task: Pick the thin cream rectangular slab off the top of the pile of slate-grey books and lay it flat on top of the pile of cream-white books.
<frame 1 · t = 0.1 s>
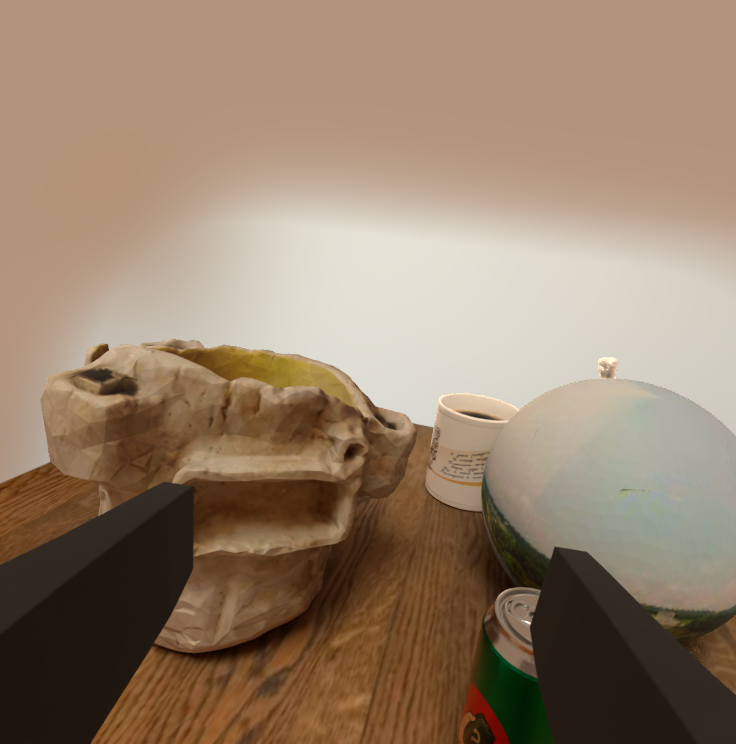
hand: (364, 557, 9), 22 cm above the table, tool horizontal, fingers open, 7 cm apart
figurine: (576, 490, 62), on the table
ceramic vessel: (246, 585, 39), on the table
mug: (464, 487, 60), on the table
decorative sphere: (579, 608, 41), on the table
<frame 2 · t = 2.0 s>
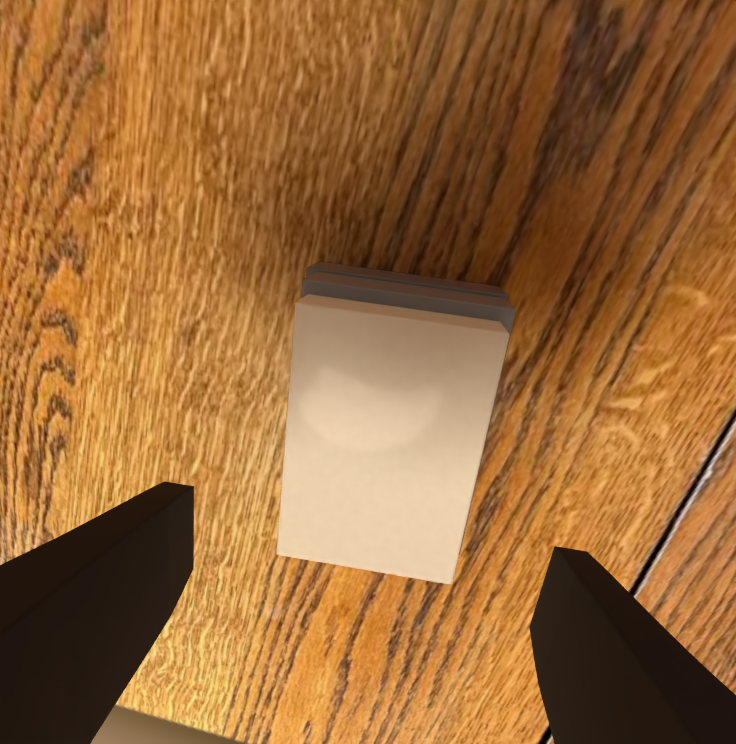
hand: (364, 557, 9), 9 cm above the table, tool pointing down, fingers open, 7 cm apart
grey books: (389, 392, 18), on the table
cream rectangular slab: (383, 434, 15), point 4 cm above the table, touching grey books
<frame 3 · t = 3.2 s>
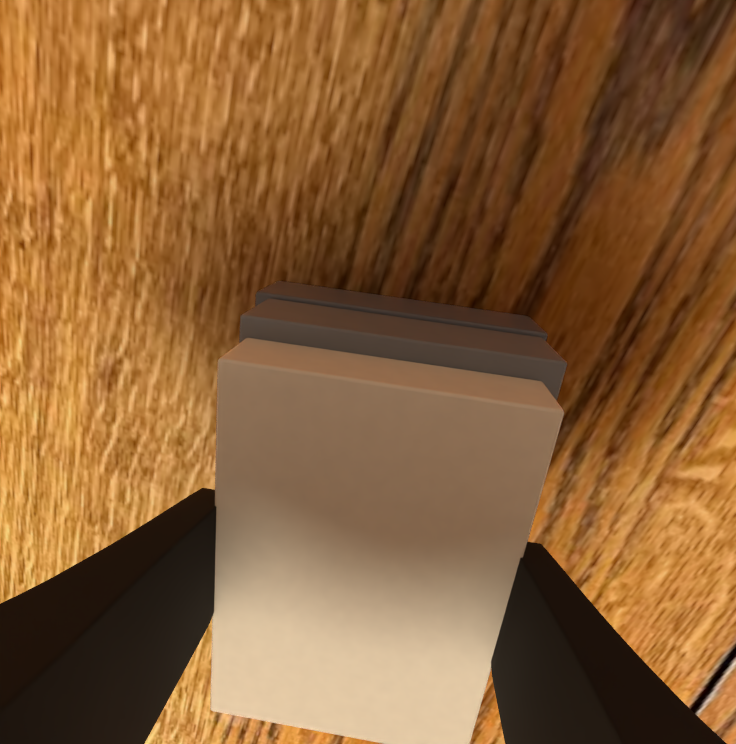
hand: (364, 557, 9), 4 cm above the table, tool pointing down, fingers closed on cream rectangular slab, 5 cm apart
grey books: (378, 454, 13), on the table
cream rectangular slab: (365, 537, 10), point 4 cm above the table, touching grey books, gripper
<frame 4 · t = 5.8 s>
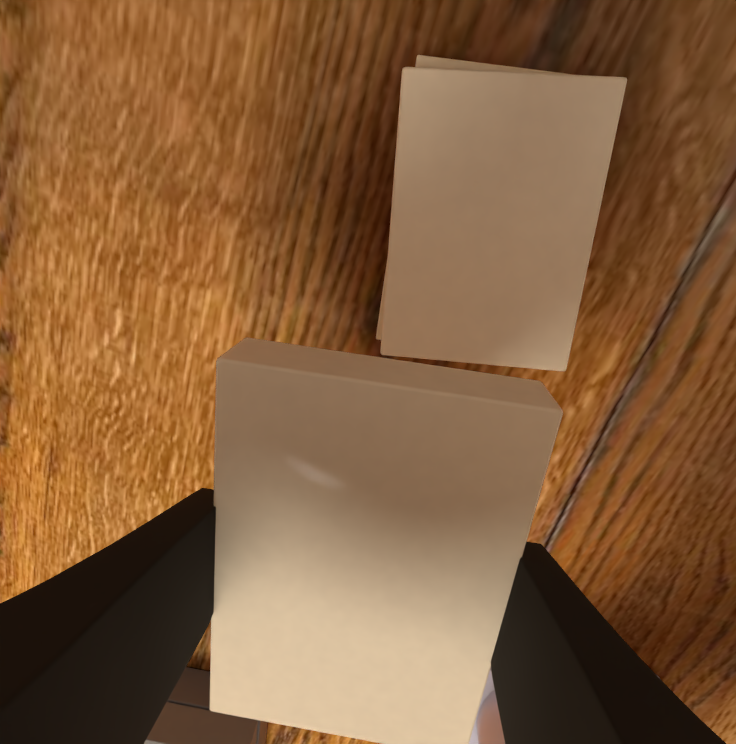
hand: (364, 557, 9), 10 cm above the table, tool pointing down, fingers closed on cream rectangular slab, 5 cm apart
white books: (482, 222, 16), on the table
grey books: (208, 731, 26), on the table
cream rectangular slab: (364, 537, 10), point 9 cm above the table, touching gripper
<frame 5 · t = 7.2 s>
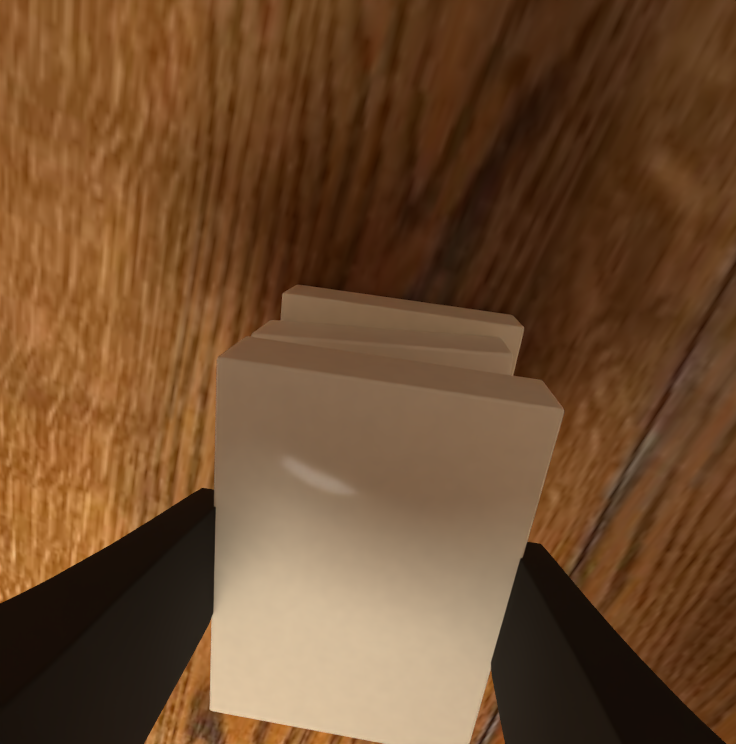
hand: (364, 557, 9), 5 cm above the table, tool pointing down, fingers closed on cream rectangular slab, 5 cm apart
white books: (382, 438, 14), on the table
cream rectangular slab: (365, 536, 10), point 5 cm above the table, touching gripper
when the fingers open (4 cm above the table, at t = 8.4 s): cream rectangular slab stays where it is, resting on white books.
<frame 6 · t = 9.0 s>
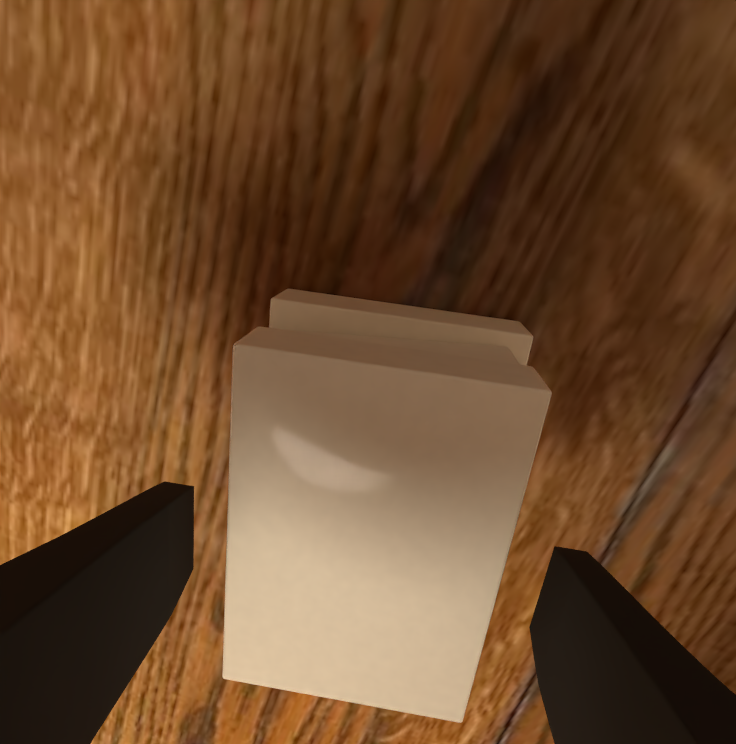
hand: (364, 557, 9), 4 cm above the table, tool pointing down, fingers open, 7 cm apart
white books: (380, 452, 14), on the table
cream rectangular slab: (368, 515, 11), point 3 cm above the table, touching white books
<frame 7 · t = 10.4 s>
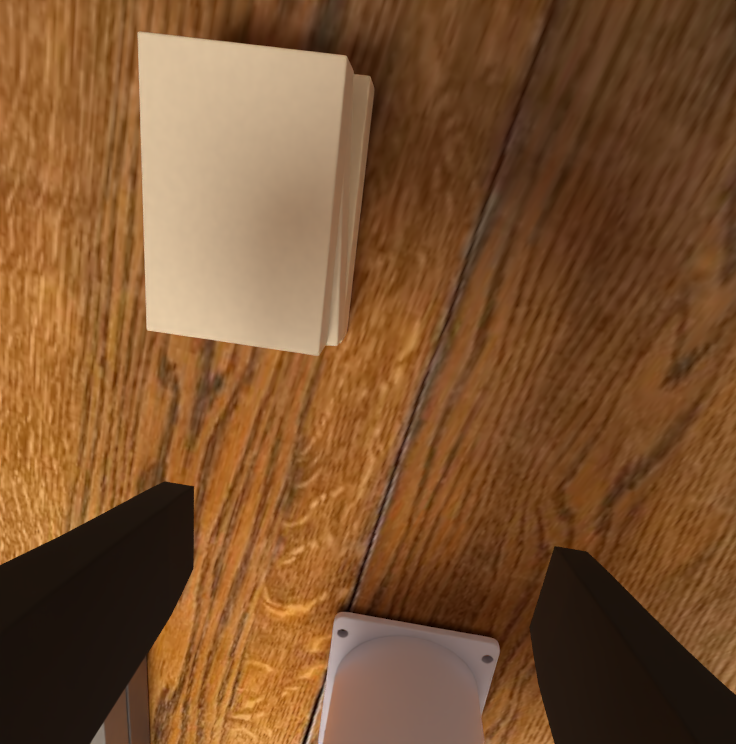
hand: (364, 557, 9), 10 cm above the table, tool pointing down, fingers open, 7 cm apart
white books: (279, 209, 18), on the table
grey books: (95, 701, 27), on the table
cream rectangular slab: (251, 208, 15), point 3 cm above the table, touching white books
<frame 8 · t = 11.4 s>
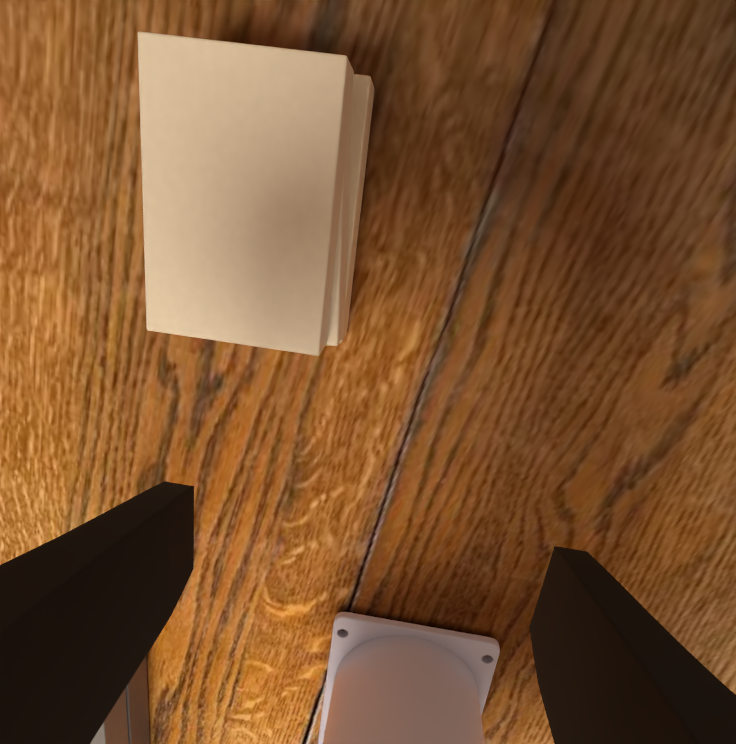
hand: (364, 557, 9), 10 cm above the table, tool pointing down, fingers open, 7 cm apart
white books: (279, 209, 18), on the table
grey books: (95, 701, 27), on the table
cream rectangular slab: (251, 208, 15), point 3 cm above the table, touching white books
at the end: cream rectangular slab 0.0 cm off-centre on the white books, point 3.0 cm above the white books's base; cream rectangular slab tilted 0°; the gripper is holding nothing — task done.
